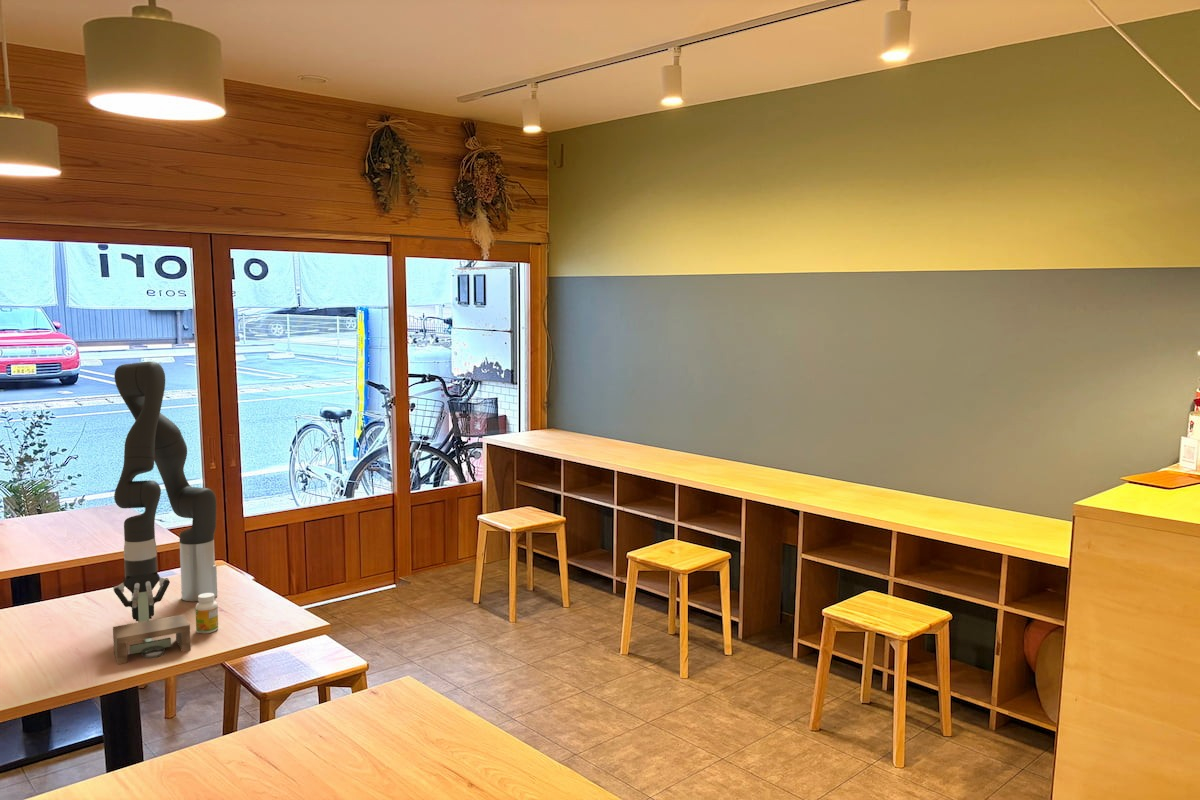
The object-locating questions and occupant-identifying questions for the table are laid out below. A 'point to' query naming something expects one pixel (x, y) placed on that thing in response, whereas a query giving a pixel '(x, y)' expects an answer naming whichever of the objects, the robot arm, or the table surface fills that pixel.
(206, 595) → the supplement bottle
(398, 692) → the table surface
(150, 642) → the rake
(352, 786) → the table surface
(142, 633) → the wooden arch
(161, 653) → the token
